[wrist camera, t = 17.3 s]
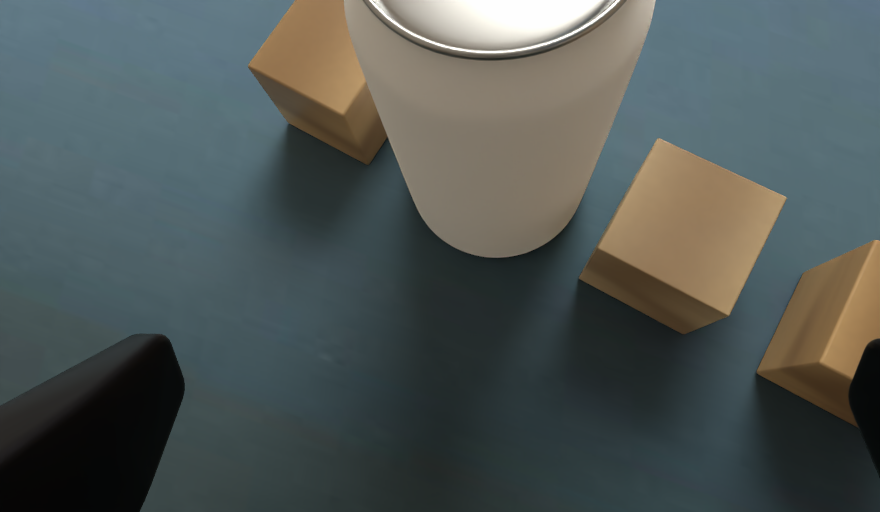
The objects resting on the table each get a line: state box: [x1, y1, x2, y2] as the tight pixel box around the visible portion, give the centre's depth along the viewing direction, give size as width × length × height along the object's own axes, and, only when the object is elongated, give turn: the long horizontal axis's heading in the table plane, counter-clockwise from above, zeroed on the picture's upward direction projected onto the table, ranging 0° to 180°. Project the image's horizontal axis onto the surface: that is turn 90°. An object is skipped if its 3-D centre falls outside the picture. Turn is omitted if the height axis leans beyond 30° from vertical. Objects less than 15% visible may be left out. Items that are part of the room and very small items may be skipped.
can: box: [344, 0, 656, 258], centre depth 16 cm, size 6×6×12 cm
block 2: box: [579, 138, 787, 334], centre depth 19 cm, size 4×4×4 cm
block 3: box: [757, 240, 880, 427], centre depth 17 cm, size 4×4×4 cm
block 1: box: [248, 0, 388, 165], centre depth 21 cm, size 4×4×4 cm
